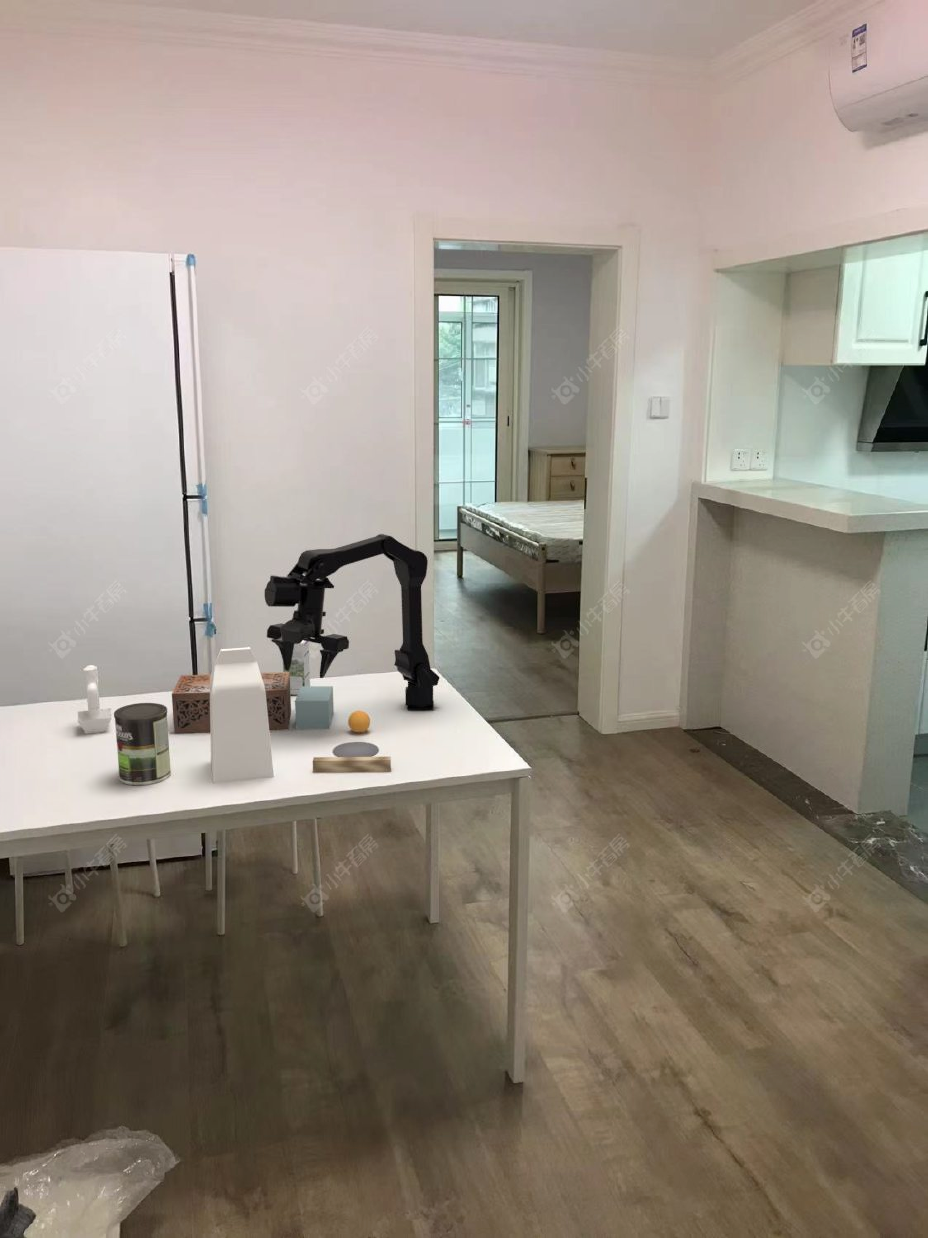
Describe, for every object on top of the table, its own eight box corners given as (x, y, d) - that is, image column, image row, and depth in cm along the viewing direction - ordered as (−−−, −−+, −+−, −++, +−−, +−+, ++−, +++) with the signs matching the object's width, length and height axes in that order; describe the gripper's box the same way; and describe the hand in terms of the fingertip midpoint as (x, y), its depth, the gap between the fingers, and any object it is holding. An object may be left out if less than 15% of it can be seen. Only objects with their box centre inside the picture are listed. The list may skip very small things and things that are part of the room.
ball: (370, 728, 233) (370, 707, 231) (369, 735, 228) (369, 714, 227) (349, 728, 232) (348, 707, 231) (347, 735, 228) (347, 715, 226)
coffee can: (133, 790, 197) (128, 722, 194) (110, 775, 204) (104, 710, 201) (181, 776, 204) (176, 710, 201) (156, 762, 211) (152, 699, 208)
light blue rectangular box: (333, 712, 243) (332, 686, 241) (329, 728, 232) (328, 700, 231) (301, 713, 243) (300, 686, 241) (296, 728, 232) (294, 701, 230)
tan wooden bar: (390, 767, 209) (390, 756, 208) (390, 771, 207) (390, 760, 206) (314, 768, 208) (313, 757, 208) (313, 772, 206) (312, 760, 206)
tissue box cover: (174, 735, 228) (171, 693, 226) (183, 714, 242) (181, 675, 240) (288, 731, 232) (287, 689, 229) (291, 711, 245) (289, 672, 243)
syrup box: (311, 689, 261) (309, 636, 258) (305, 696, 255) (303, 641, 252) (289, 688, 262) (287, 635, 258) (283, 695, 256) (281, 641, 253)
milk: (213, 783, 201) (206, 658, 195) (210, 762, 212) (203, 644, 206) (273, 776, 204) (268, 654, 198) (268, 756, 215) (263, 640, 209)
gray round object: (379, 742, 223) (379, 741, 223) (377, 759, 214) (377, 758, 214) (334, 742, 223) (334, 742, 223) (330, 759, 213) (330, 758, 213)
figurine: (79, 738, 225) (73, 674, 222) (79, 725, 234) (73, 663, 230) (112, 734, 228) (107, 671, 224) (111, 721, 236) (106, 660, 233)
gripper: (255, 603, 221) (249, 671, 224) (327, 617, 214) (320, 687, 217) (283, 599, 232) (277, 664, 234) (353, 612, 225) (346, 679, 227)
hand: (304, 674), depth 228 cm, fingers open, 9 cm apart
